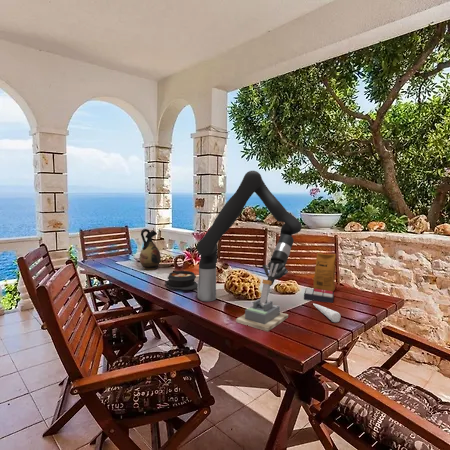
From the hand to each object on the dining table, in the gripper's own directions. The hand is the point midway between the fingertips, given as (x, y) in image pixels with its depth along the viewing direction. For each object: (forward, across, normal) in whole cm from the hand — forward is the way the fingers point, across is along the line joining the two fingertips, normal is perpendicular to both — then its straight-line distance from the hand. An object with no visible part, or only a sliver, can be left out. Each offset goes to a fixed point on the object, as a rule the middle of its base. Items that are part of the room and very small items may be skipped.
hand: (268, 284), depth 149 cm
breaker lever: (+9, 0, +2) cm, 9 cm away
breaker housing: (+13, 0, +6) cm, 14 cm away
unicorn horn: (-2, +19, +25) cm, 32 cm away
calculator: (-16, +10, +40) cm, 44 cm away
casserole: (+4, -64, +17) cm, 66 cm away
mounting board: (+14, 0, +7) cm, 16 cm away
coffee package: (-28, +7, +51) cm, 59 cm away
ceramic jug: (-9, -115, +31) cm, 119 cm away
